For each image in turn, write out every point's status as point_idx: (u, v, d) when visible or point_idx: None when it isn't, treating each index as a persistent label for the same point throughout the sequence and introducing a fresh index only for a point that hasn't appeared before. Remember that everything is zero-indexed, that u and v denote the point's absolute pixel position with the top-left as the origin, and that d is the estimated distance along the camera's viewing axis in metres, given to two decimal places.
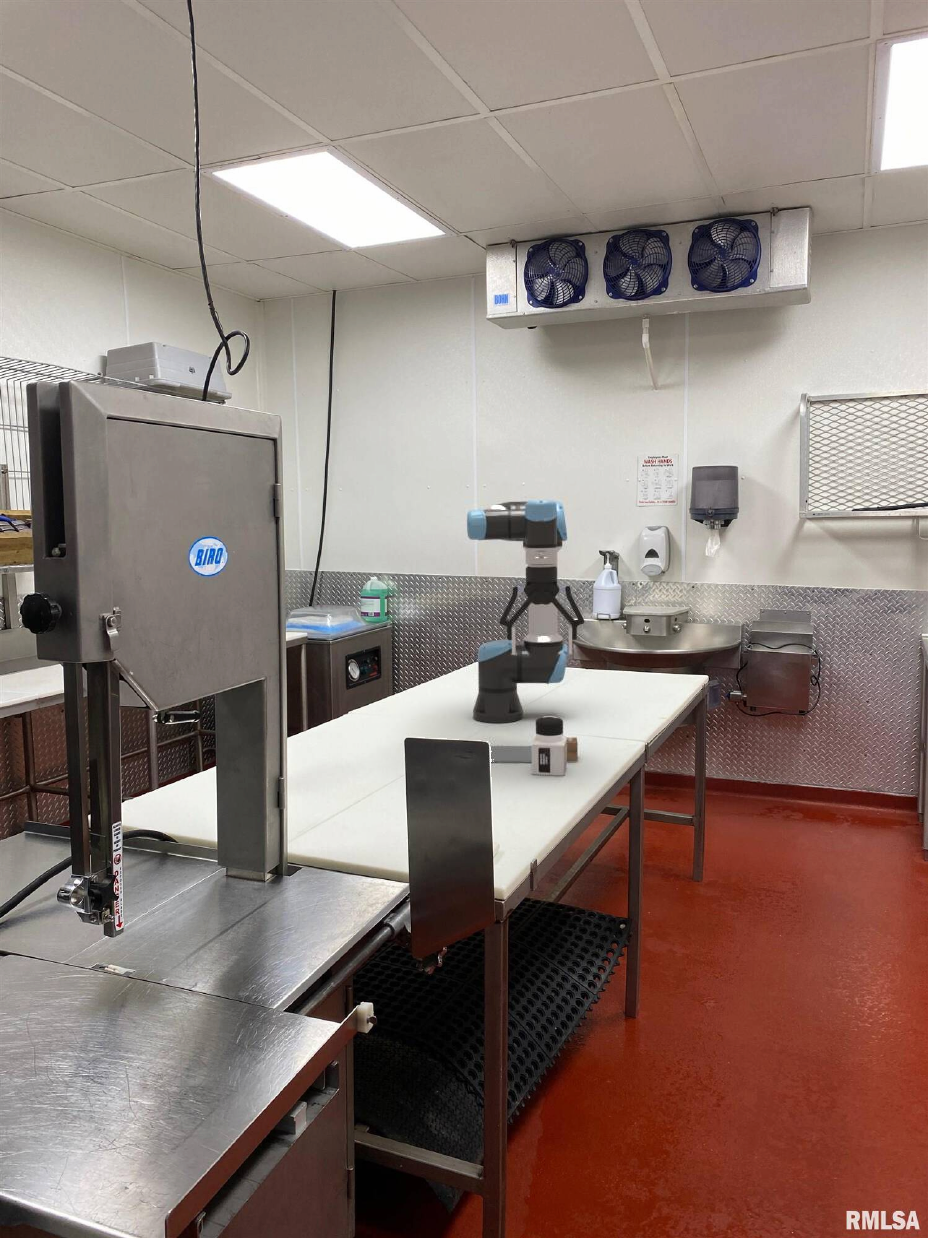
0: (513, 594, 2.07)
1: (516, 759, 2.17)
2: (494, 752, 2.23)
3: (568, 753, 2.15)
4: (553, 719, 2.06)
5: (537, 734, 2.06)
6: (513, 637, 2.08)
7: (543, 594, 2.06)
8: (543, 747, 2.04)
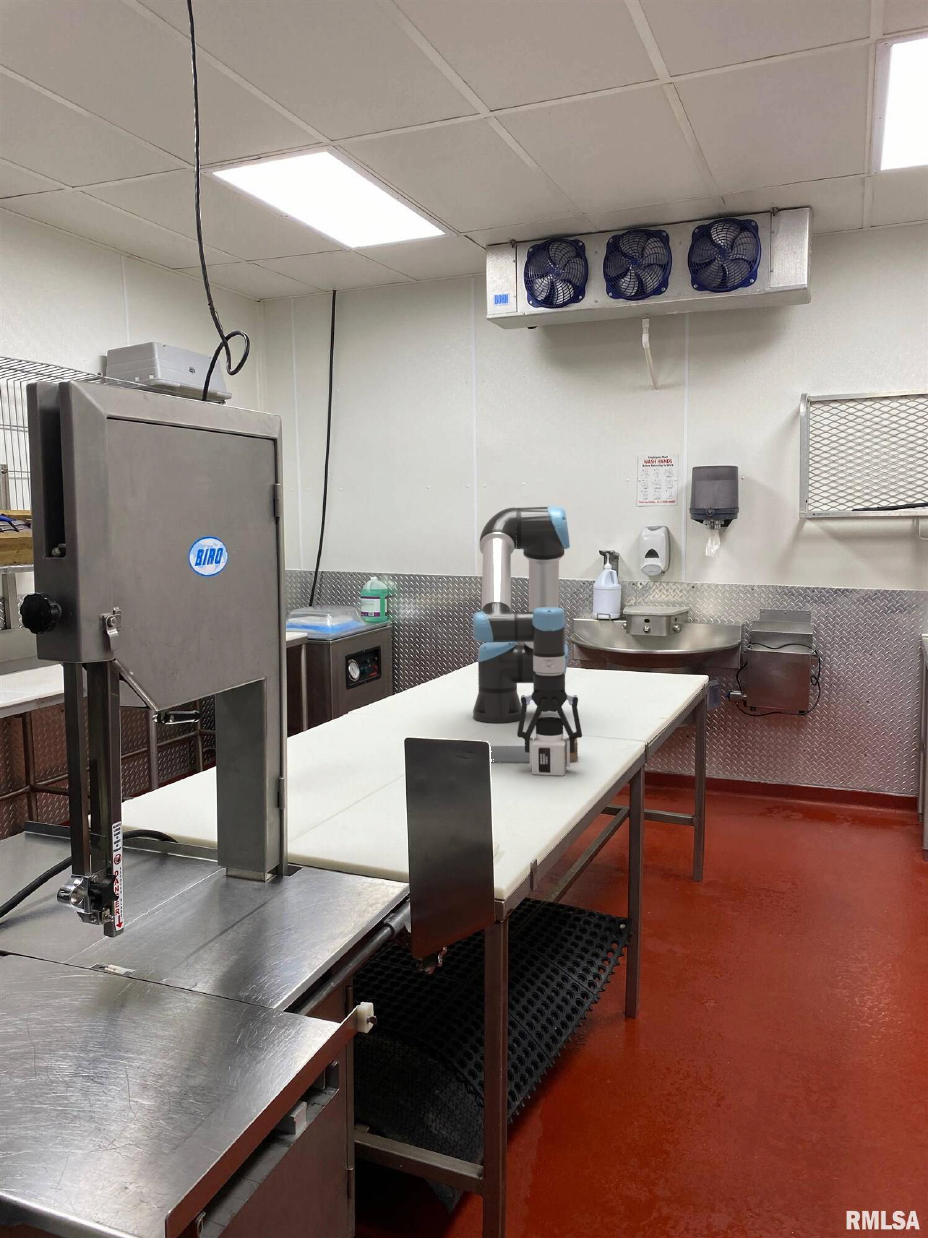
0: (522, 706, 2.06)
1: (516, 759, 2.17)
2: (494, 752, 2.23)
3: None
4: (553, 719, 2.06)
5: (537, 734, 2.06)
6: (531, 750, 2.07)
7: (550, 700, 2.05)
8: (543, 746, 2.04)
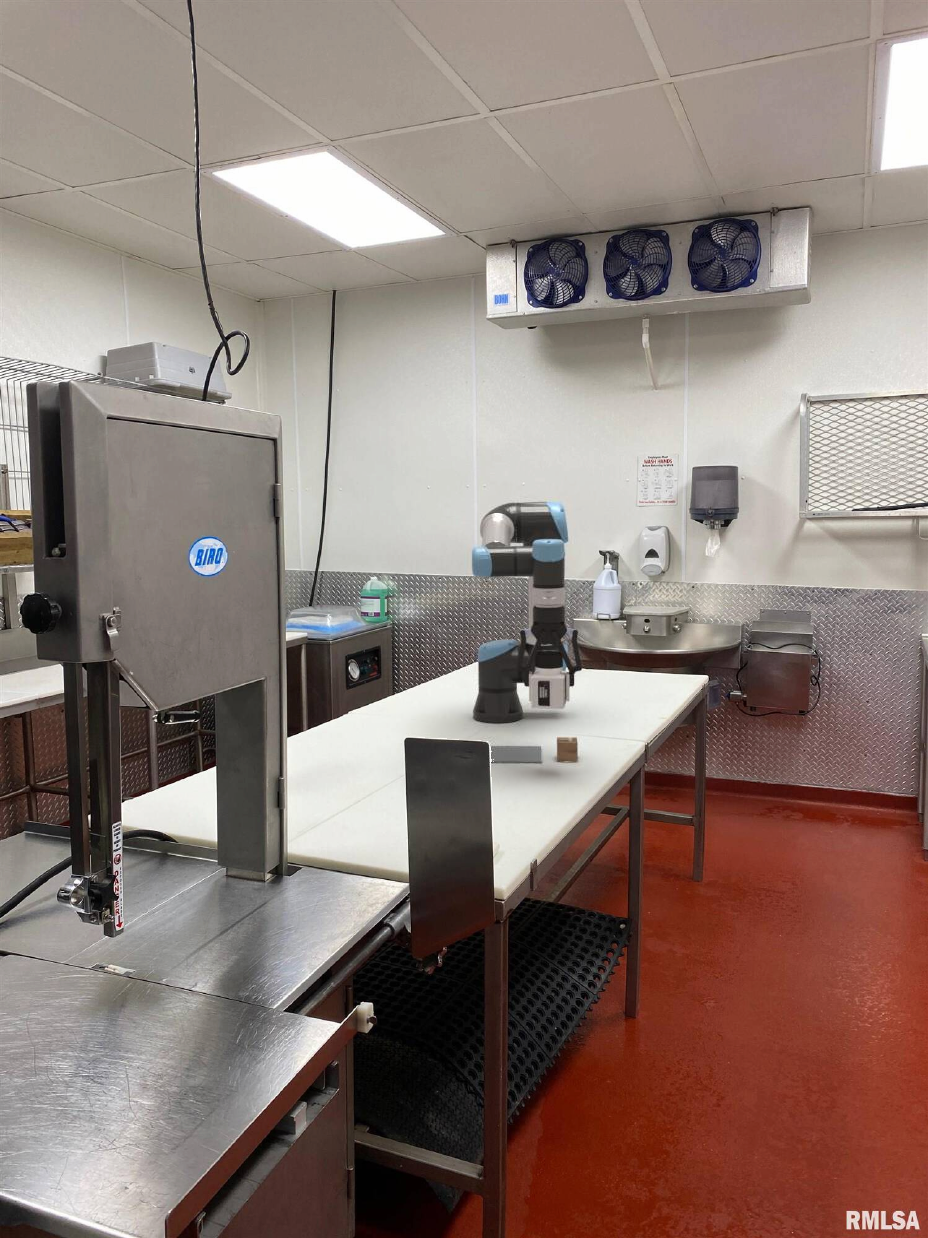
0: (521, 639, 2.04)
1: (516, 759, 2.17)
2: (494, 752, 2.23)
3: (568, 753, 2.15)
4: (553, 652, 2.04)
5: (536, 667, 2.04)
6: (530, 684, 2.05)
7: (550, 633, 2.03)
8: (542, 679, 2.02)
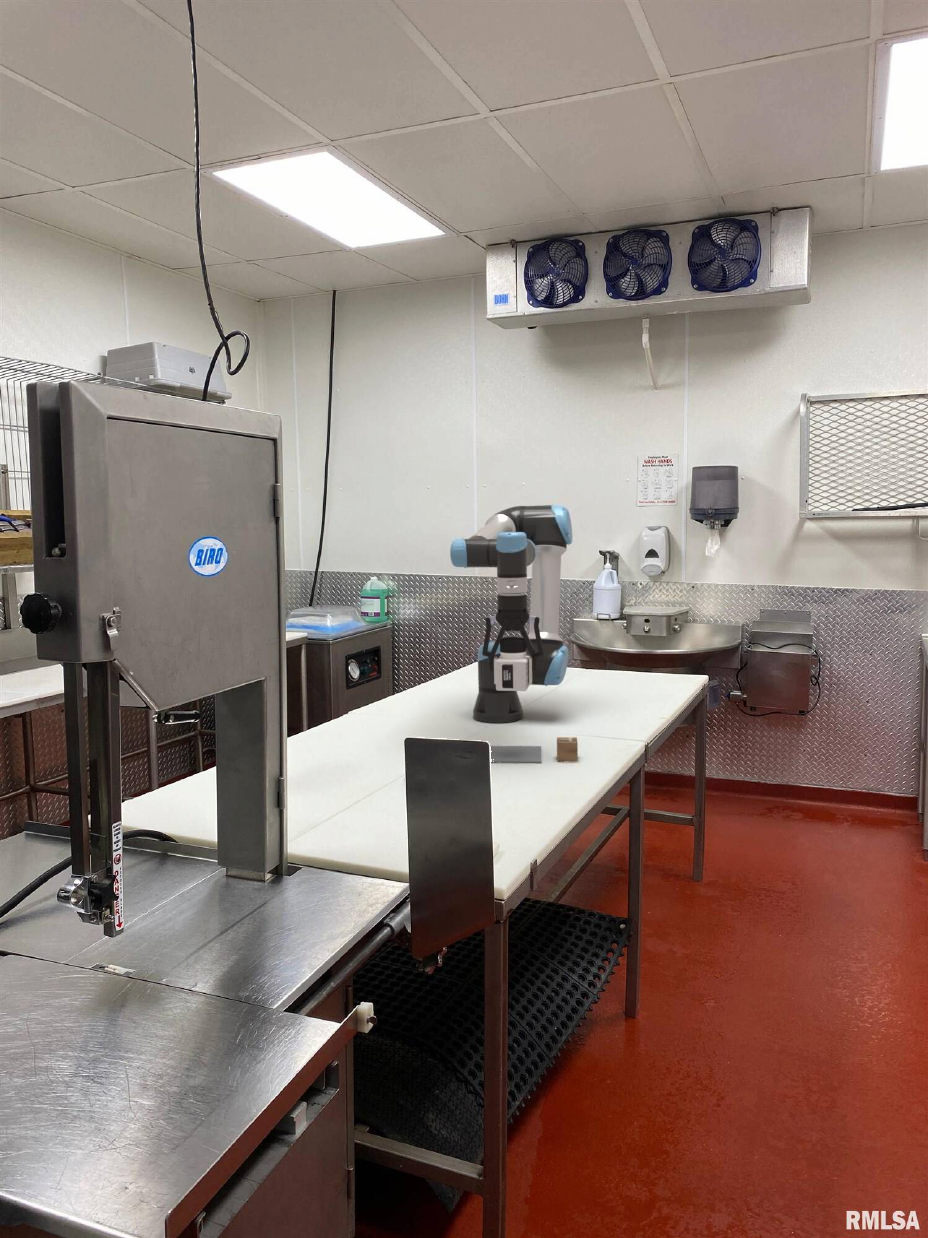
0: (487, 625, 2.17)
1: (516, 759, 2.17)
2: (494, 752, 2.23)
3: (568, 753, 2.15)
4: (516, 638, 2.17)
5: (501, 652, 2.18)
6: (495, 668, 2.18)
7: (513, 620, 2.17)
8: (506, 663, 2.16)
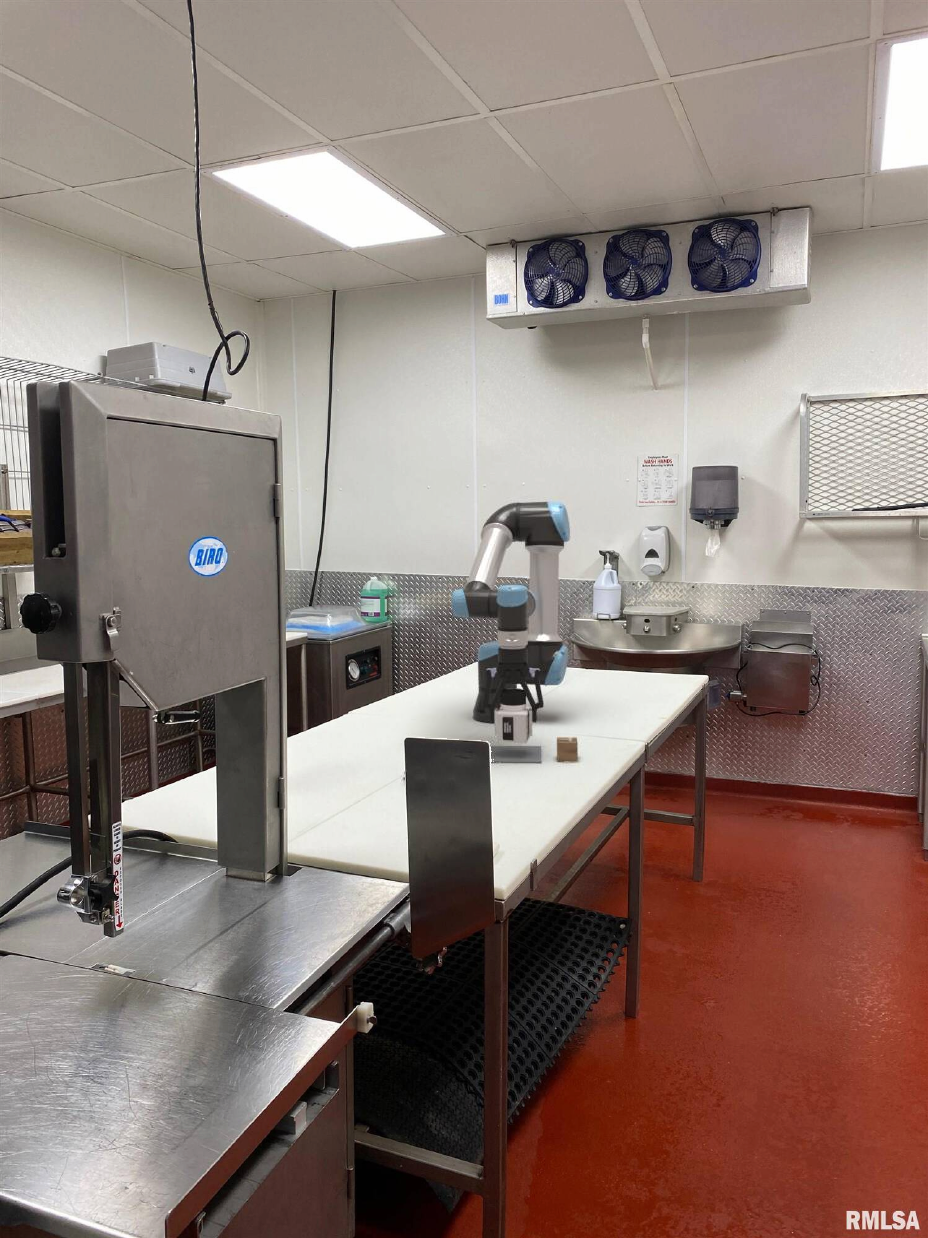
0: (487, 678, 2.19)
1: (516, 759, 2.17)
2: (494, 752, 2.23)
3: (568, 753, 2.15)
4: (516, 690, 2.19)
5: (501, 704, 2.19)
6: None
7: (514, 673, 2.18)
8: (506, 716, 2.17)
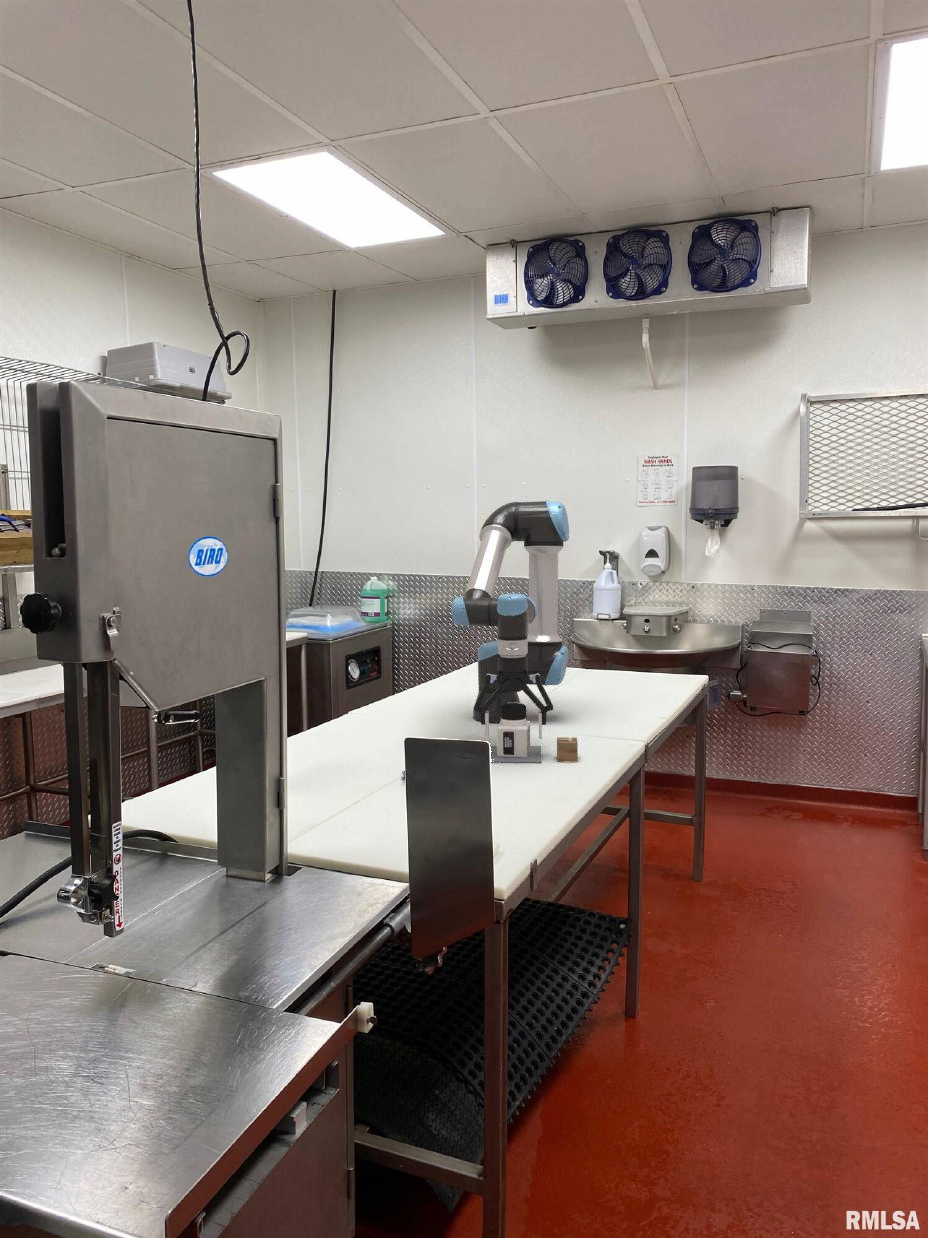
0: (486, 682, 2.19)
1: (516, 759, 2.17)
2: (494, 752, 2.23)
3: (568, 753, 2.15)
4: (517, 705, 2.19)
5: (502, 719, 2.20)
6: (486, 722, 2.20)
7: (514, 682, 2.19)
8: (507, 730, 2.18)
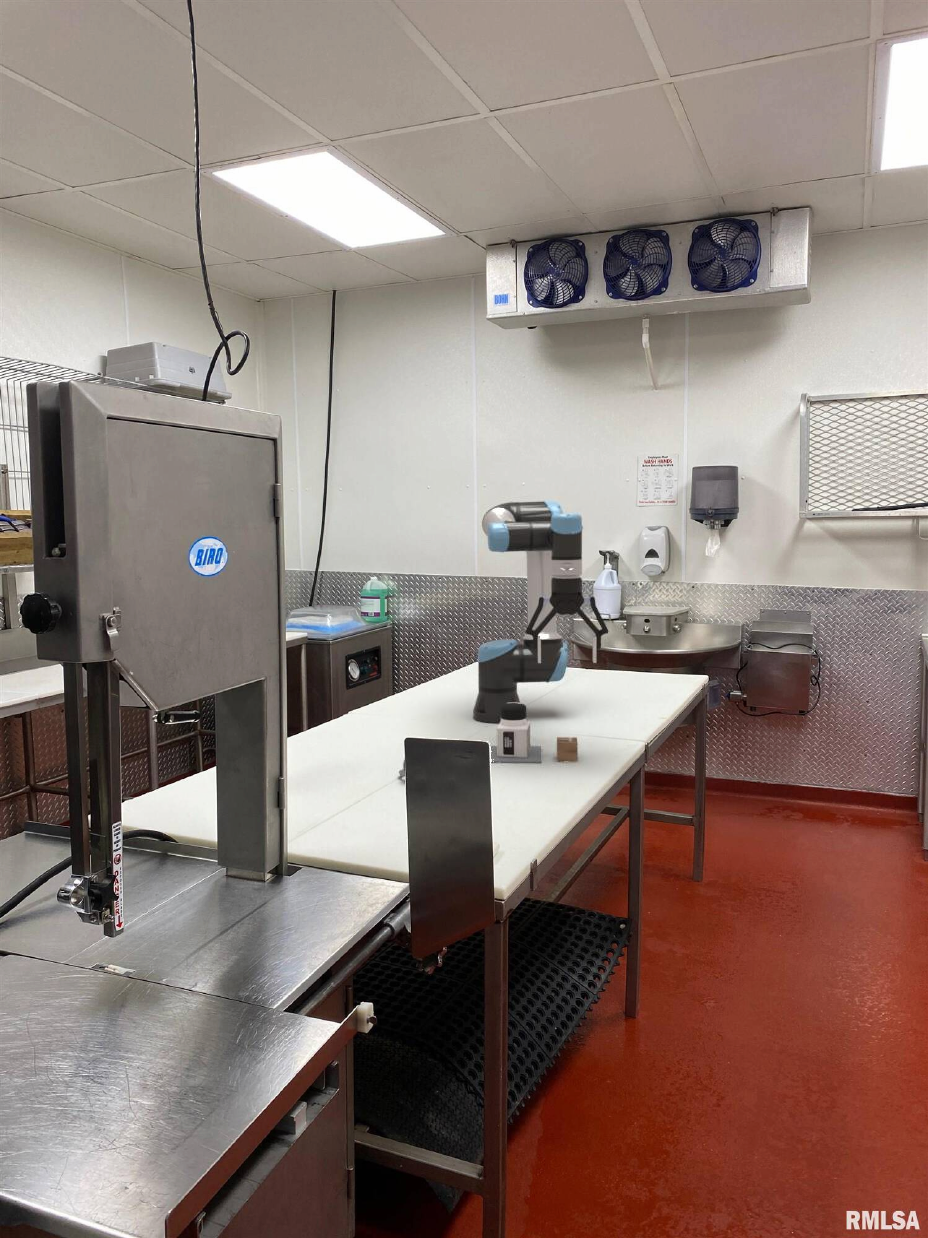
0: (539, 605, 2.13)
1: (516, 759, 2.17)
2: (494, 752, 2.23)
3: (568, 753, 2.15)
4: (517, 705, 2.19)
5: (502, 719, 2.20)
6: (539, 646, 2.14)
7: (568, 604, 2.12)
8: (507, 730, 2.18)
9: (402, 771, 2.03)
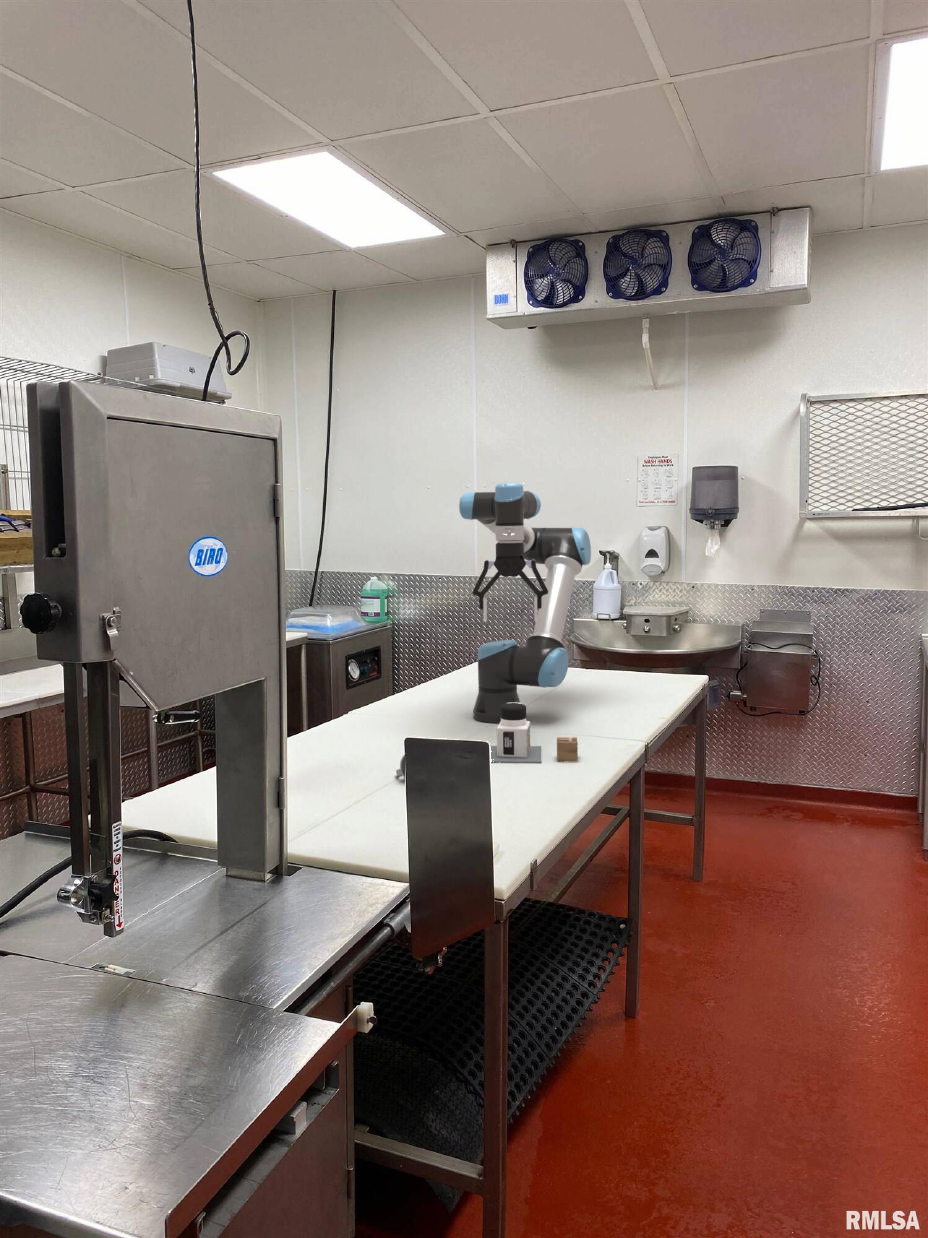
0: (484, 568, 2.31)
1: (516, 759, 2.17)
2: (494, 752, 2.23)
3: (568, 753, 2.15)
4: (517, 705, 2.19)
5: (502, 719, 2.20)
6: (484, 606, 2.32)
7: (511, 567, 2.30)
8: (507, 730, 2.18)
9: (399, 771, 2.04)
